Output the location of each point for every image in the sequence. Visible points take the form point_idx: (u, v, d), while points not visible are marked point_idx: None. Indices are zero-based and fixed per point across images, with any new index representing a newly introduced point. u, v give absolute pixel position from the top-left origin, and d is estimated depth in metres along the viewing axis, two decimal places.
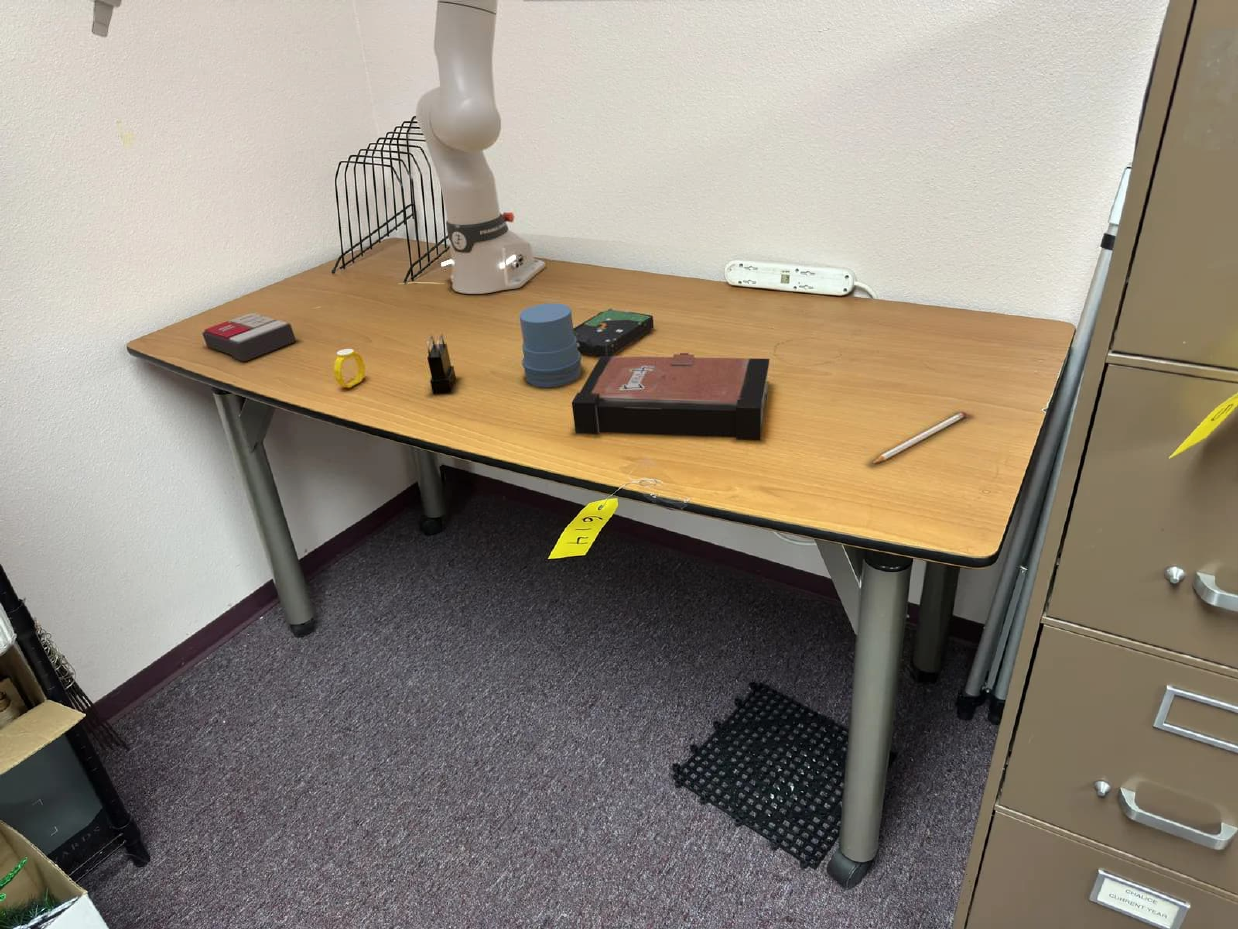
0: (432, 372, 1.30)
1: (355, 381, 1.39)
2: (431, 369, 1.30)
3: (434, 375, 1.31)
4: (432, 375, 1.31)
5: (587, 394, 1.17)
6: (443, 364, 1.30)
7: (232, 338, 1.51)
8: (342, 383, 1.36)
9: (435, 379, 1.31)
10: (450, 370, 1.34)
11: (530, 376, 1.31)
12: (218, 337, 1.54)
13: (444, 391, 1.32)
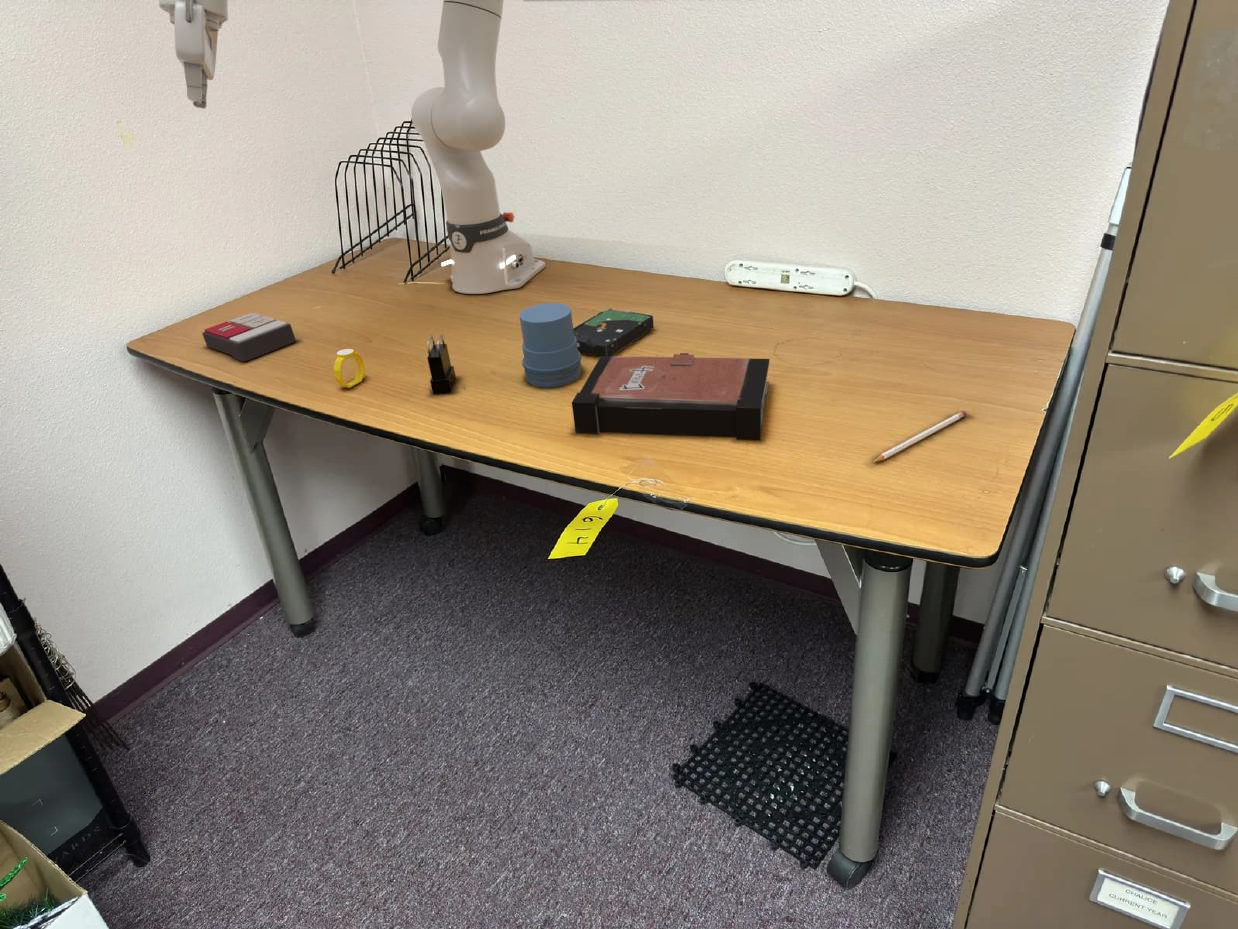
0: (432, 372, 1.30)
1: (355, 381, 1.39)
2: (431, 369, 1.30)
3: (434, 375, 1.31)
4: (432, 375, 1.31)
5: (587, 394, 1.17)
6: (443, 364, 1.30)
7: (232, 338, 1.51)
8: (342, 383, 1.36)
9: (435, 379, 1.31)
10: (450, 370, 1.34)
11: (530, 376, 1.31)
12: (218, 337, 1.54)
13: (444, 391, 1.32)
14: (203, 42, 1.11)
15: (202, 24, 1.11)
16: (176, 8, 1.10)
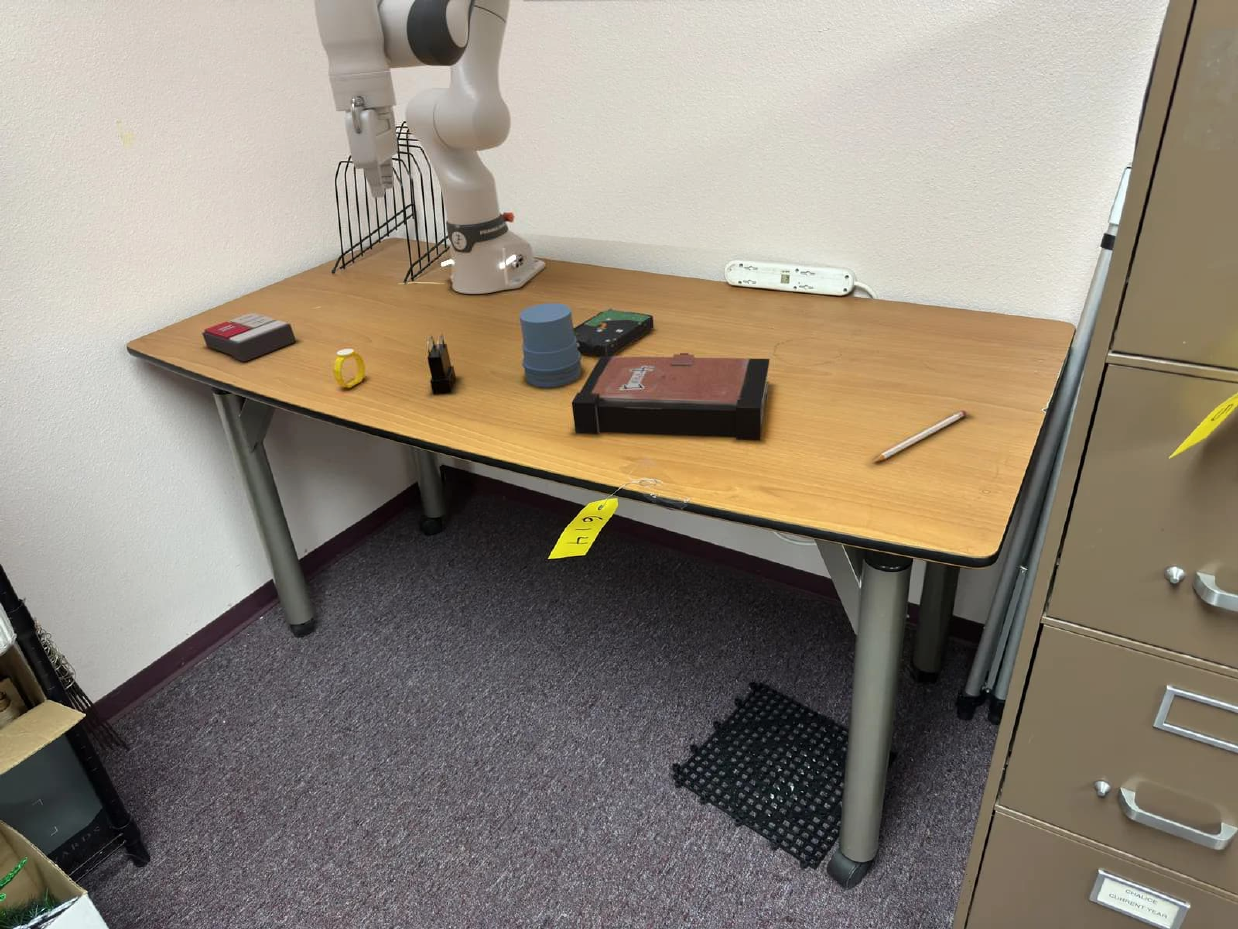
0: (432, 372, 1.30)
1: (355, 381, 1.39)
2: (431, 369, 1.30)
3: (434, 375, 1.31)
4: (432, 375, 1.31)
5: (587, 394, 1.17)
6: (443, 364, 1.30)
7: (232, 338, 1.51)
8: (342, 383, 1.36)
9: (435, 379, 1.31)
10: (450, 370, 1.34)
11: (530, 376, 1.31)
12: (218, 337, 1.54)
13: (444, 391, 1.32)
14: (374, 149, 1.16)
15: (370, 131, 1.15)
16: (346, 122, 1.15)
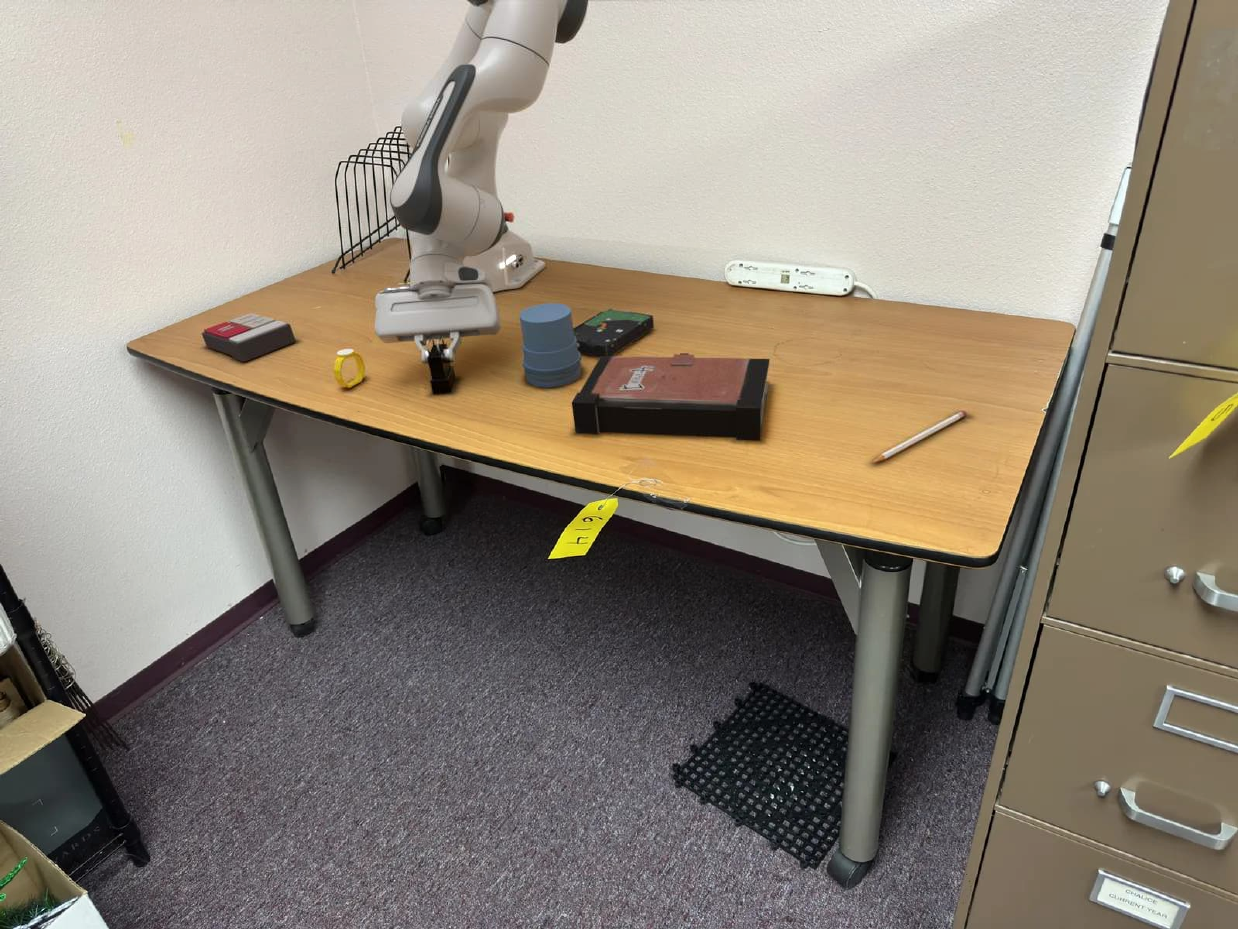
0: (432, 372, 1.30)
1: (355, 381, 1.39)
2: (431, 369, 1.30)
3: (434, 375, 1.31)
4: (432, 375, 1.31)
5: (587, 394, 1.17)
6: (443, 364, 1.30)
7: (232, 338, 1.51)
8: (342, 383, 1.36)
9: (435, 379, 1.31)
10: (450, 370, 1.34)
11: (530, 376, 1.31)
12: (218, 337, 1.54)
13: (444, 391, 1.32)
14: (375, 322, 1.32)
15: (377, 309, 1.33)
16: None
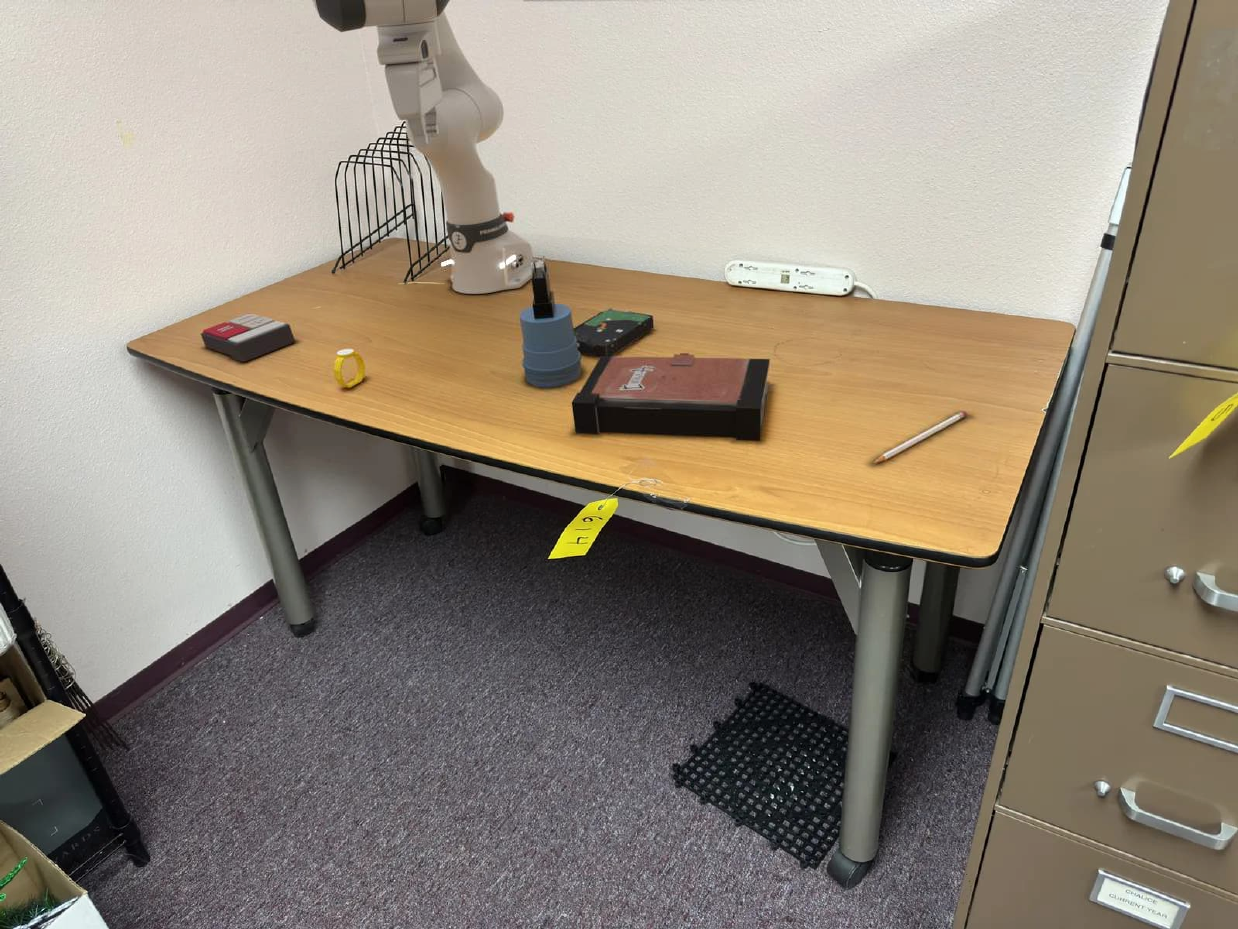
0: (535, 295, 1.25)
1: (355, 381, 1.39)
2: (534, 291, 1.25)
3: (537, 298, 1.25)
4: (535, 298, 1.25)
5: (587, 394, 1.17)
6: (547, 286, 1.25)
7: (231, 339, 1.51)
8: (342, 383, 1.36)
9: (538, 302, 1.25)
10: (551, 295, 1.28)
11: (530, 376, 1.31)
12: (217, 338, 1.54)
13: (546, 315, 1.27)
14: None
15: None
16: None
